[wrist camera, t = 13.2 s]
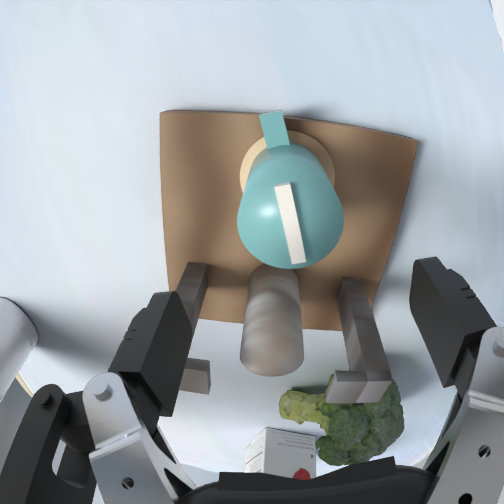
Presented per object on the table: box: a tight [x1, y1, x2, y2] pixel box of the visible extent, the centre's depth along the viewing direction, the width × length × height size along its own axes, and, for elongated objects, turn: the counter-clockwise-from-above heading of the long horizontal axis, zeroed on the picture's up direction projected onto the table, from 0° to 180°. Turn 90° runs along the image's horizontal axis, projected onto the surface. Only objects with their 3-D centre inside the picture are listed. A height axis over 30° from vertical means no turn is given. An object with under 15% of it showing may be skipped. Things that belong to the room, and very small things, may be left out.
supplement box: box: [243, 428, 316, 480], centre depth 38 cm, size 9×9×15 cm
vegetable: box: [279, 374, 404, 466], centre depth 31 cm, size 12×13×15 cm
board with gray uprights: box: [160, 110, 418, 403], centre depth 20 cm, size 18×18×12 cm
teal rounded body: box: [237, 110, 344, 269], centre depth 17 cm, size 9×5×7 cm, turn 14°
